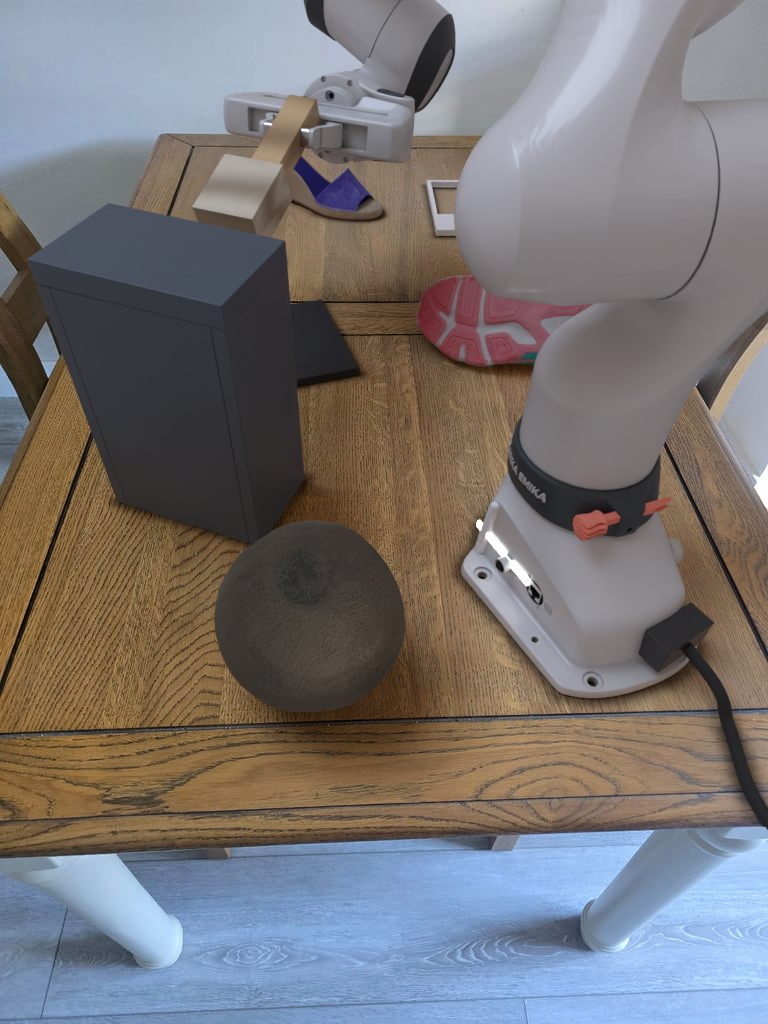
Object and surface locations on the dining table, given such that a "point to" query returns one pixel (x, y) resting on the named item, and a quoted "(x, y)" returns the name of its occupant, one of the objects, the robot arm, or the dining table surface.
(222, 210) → the wooden mallet
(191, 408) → the tall grey cabinet
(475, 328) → the athletic shoe
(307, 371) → the shoe mat
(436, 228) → the photo frame
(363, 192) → the sandal
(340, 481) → the dining table surface
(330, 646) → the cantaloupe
